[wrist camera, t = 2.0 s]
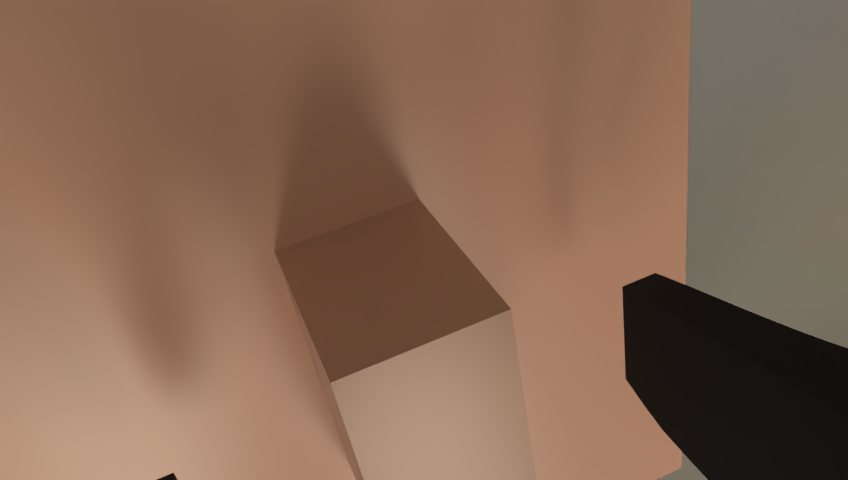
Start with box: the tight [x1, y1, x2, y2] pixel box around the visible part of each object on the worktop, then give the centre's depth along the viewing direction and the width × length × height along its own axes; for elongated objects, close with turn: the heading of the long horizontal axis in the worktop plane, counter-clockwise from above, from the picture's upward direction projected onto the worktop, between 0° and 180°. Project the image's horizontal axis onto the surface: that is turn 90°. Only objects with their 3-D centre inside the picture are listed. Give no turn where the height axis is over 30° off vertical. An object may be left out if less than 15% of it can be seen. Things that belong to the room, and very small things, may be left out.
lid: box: [0, 0, 691, 480], centre depth 12 cm, size 15×13×4 cm
